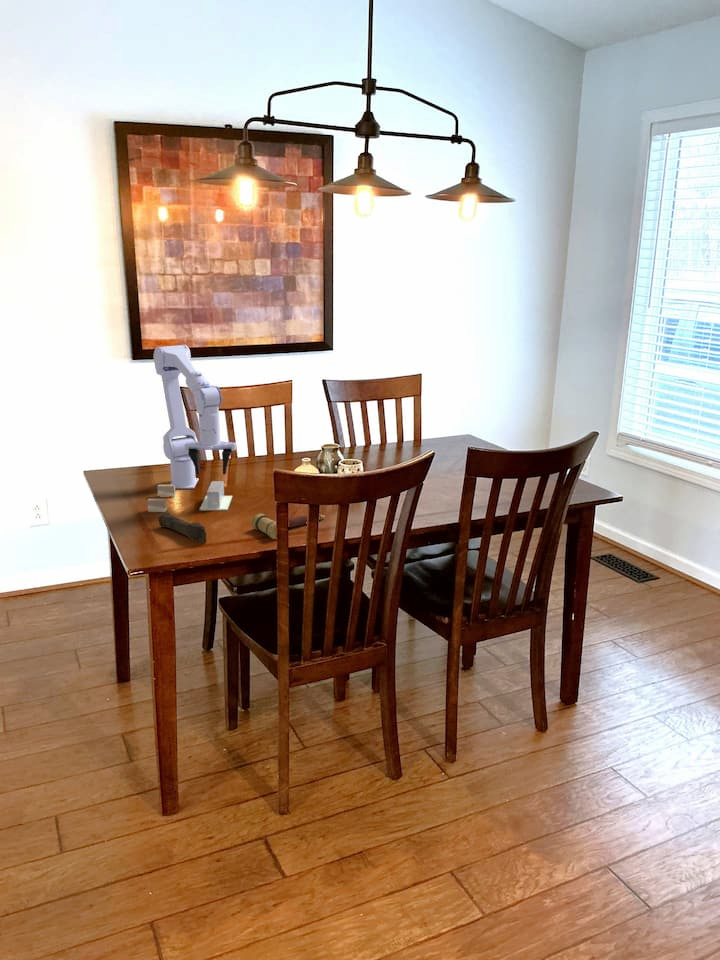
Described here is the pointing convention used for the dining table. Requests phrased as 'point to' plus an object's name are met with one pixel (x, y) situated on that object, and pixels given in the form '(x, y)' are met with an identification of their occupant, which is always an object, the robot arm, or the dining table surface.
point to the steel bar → (215, 494)
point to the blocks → (160, 504)
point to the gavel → (269, 526)
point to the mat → (223, 506)
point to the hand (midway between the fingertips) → (211, 473)
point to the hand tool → (183, 527)
